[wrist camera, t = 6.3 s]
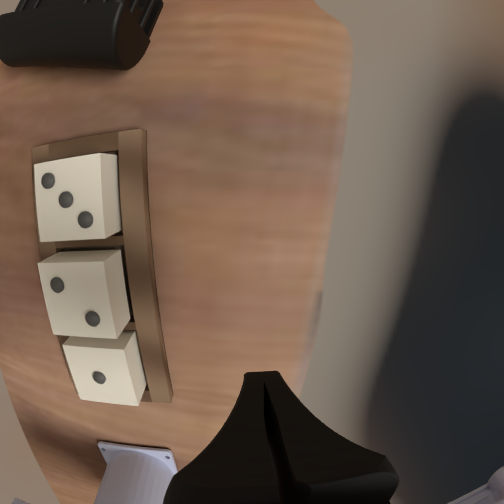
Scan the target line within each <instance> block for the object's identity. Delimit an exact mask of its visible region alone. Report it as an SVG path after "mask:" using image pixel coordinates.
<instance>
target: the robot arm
mask: <svg viewBox="0 0 504 504" xmlns="http://www.w3.org/2000/svg"><path fill="white" fill-rule="evenodd" d="M98 447H99V449H100V451H101V453H102V455H103V457H104V459H105V461H106V463H107V467H106V470H105V473H104V476H103V478H102V481H101V484H100V487H99V490H98V493H97V496H96V499H95V502H94V504H390V502H389V500H390V499H391V497H392V495H393V494H394V492H395V490H396V488H397V487H398V483H399V477H398V475H397V473H396V471H395V469H394V467H393V466H392V464H391V463H390V461H389V460H388V459H387V457H386V456H385V455H382V454H379V453H377V452H374V451H371V450H369V449H366V448H364V447H361V446H359V445H357V444H355V443H353V442H350V441H349V440H347V439H346V438H344V437H342V436H341V435H339V434H338V433H336V432H334V431H333V430H332V429H330V428H329V427H327V426H326V425H325V424H324V423H322V422H321V421H320V420H319V419H317V418H316V417H315V416H314V415H313V414H312V413H311V412H310V411H309V410H308V409H307V408H306V407H305V406H304V405H303V404H302V403H301V402H300V400H299V399H298V398H297V397H296V396H295V394H294V393H293V392H292V391H291V389H290V388H289V387H288V385H287V384H286V382H285V381H284V379H283V378H282V376H281V375H280V373H279V372H278V371H264V372H247V373H245V374H244V381H243V385H242V388H241V391H240V394H239V396H238V399H237V401H236V404H235V406H234V408H233V410H232V411H231V413H230V415H229V417H228V419H227V420H226V422H225V424H224V425H223V427H222V428H221V430H220V431H219V432H218V434H217V435H216V436H215V438H214V439H213V440H212V441H211V443H210V444H209V445H208V446H207V447H206V448H205V449H204V450H203V451H202V452H201V453H200V454H199V455H198V456H197V457H196V458H195V459H194V460H193V461H192V462H190V463H189V464H188V465H187V466H185V467H184V468H183V469H181V470H180V471H179V472H178V470H177V467H176V464H175V461H174V458H173V454H172V452H171V451H170V450H168V449H159V448H148V447H138V446H130V445H122V444H115V443H108V442H102V441H100V442H99V443H98ZM12 504H29V503H27V502H25V501H22V500H20V499H18V498H14V500H13V502H12ZM447 504H504V467H502V468H500V469H499V470H497V471H496V472H495V473H494V474H493V476H492V477H491V478H490V480H489V481H488V483H487V484H485V485H483V486H481V487H480V488H478V489H476V490H474V491H472V492H470V493H468V494H466V495H464V496H462V497H460V498H458V499H456V500H454V501H452V502H450V503H447Z"/></svg>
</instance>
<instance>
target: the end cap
mask: <svg viewBox="0 0 504 504" xmlns="http://www.w3.org/2000/svg"><path fill="white" fill-rule="evenodd" d="M162 8H163V1H162V0H20V2H19V4H18V6H17V8H16V10H15V12H11V13H6V14H3V15H1V16H0V59H1V60H2V61H3V63H5V64H6V65H8V66H11V67H30V66H65V67H89V68H104V69H116V70H128V69H131V68H132V67H134V66H135V65H136V64H137V63H138V62H139V61H140V60H141V58H142V57H143V55H144V54H145V52H146V50H147V48H148V46H149V43H150V40H149V38H150V36H151V33H152V31H153V28H154V26H155V24H156V21H157V19H158V17H159V14H160V12H161V10H162Z"/></svg>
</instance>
